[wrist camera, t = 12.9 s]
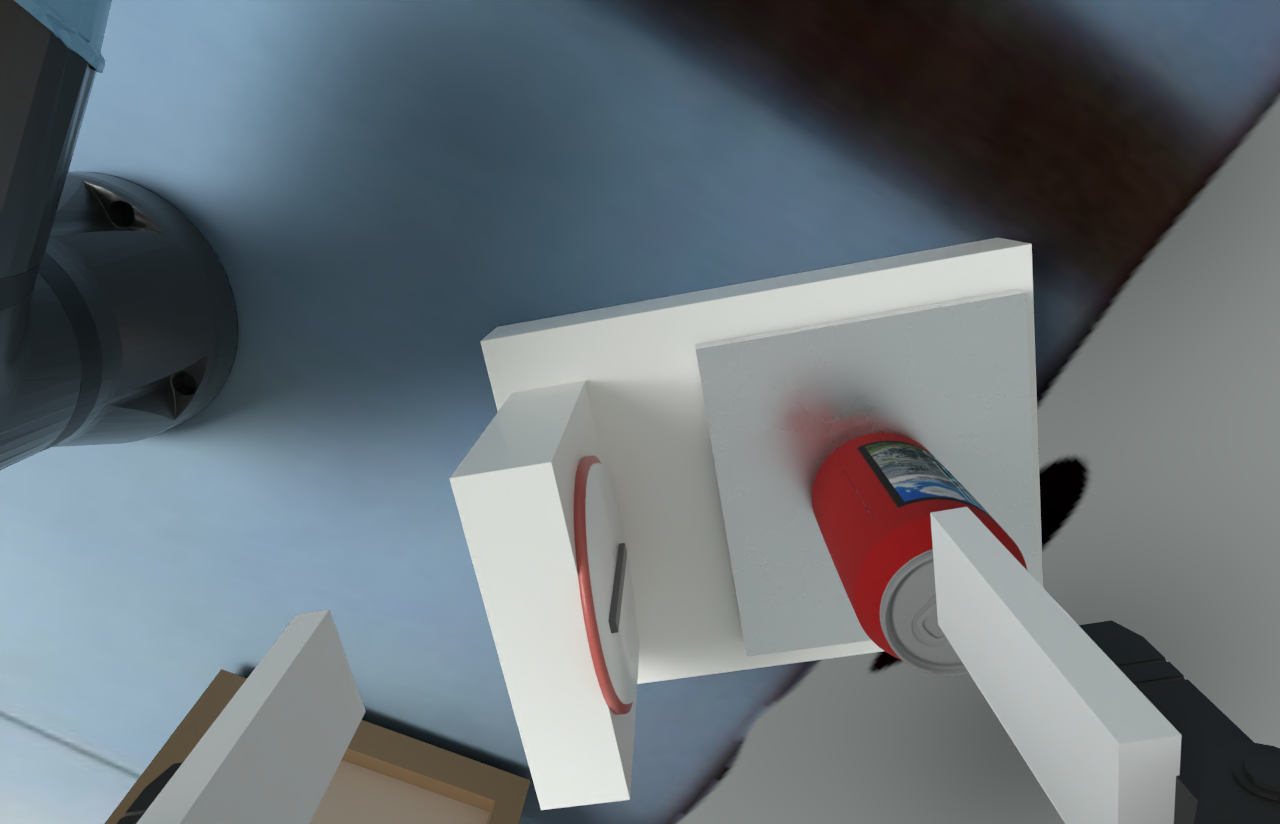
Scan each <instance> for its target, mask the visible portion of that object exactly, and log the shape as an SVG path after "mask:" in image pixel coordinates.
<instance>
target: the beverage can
mask: <svg viewBox="0 0 1280 824" xmlns="http://www.w3.org/2000/svg"><path fill="white" fill-rule="evenodd" d="M812 507H813V512H814V515H815V518H816V520H817V523H818V526H819V528H820V531H821V533H822V536H823V538H824V541H825V543H826V546H827V548H828V551H829V553H830V555H831V558H832V560H833V563H834V565H835V568H836V570H837V572H838V575H839V577H840V579H841V582H842V584H843V586H844V589H845V591H846V593H847V596H848V598H849V600H850V602H851V605H852V607H853V609H854V612H855V614H856V616H857V618H858V621H859V623H860V625H861V627H862V628H863V630H864V631H865V633H866V634H867V635H868V637H869V638H870V639H871V640H872V641H873V642H874V643H875V644H876V645H877V646H878V647H880V648H881V649H882V650H884V651H885V652H887V653H888V654H890V655H892V656H894V657H896V658H898V659H900V660H903V661H904V662H905V663H907V664H908V665H910V666H912V667H914V668H916V669H918V670H920V671H923V672H926V673H929V674H934V675H940V676H957V675H964V674H969V672H968V670H967V669H966V667H965V666H964V664H963V663H962V661H961V659H960V658H959V656H958V655H957V653H956V652H955V650H954V649H953V647H952V645H951V644H950V642H949V641H948V639H947V638H946V636H945V634H944V633H943V631H942V630H941V628H940V627H939V625H938V617H937V603H936V588H935V574H934V559H933V545H932V531H931V516H930V513H931V512H937V511H943V510H950V509H956V508H962V507H968V508H969V509H970V510H971V511H972V512H973V513H974V515H975V516H976V517H977V518H978V519H979V520H980V521H981V522H982V523H983V524H984V525H985V526H986V527H987V528H988V529H989V530H990V532H991V533H992V534H993V535H994V536H995V537H996V538H997V539H998V540H999V541H1000V542H1001V543H1002V544H1003V545H1004V546H1005V548H1006V549H1007V550H1008V551H1009V552H1010V553H1011V554H1012V555H1013V556H1014V557H1015V558H1016V559H1017V560H1018V561H1019V562H1020V564H1021V565H1022V566H1023V567H1024V568H1025V569H1026V570H1027V566H1026V563H1025V560H1024V557H1023V555H1022V553H1021V551H1020V549H1019V548H1018V546H1017V545H1016V543H1015V542H1014V541H1013V540H1012V539H1011V537H1010V536H1009V535H1008V534H1007V533H1006V532H1005V531H1004V530H1003V529H1002V527H1001V526H1000V525H999V524H998V523H997V522H996V521H995V520H994V519H993V518H992V516H991V515H990V514H989V513H988V512H987V511H986V510H985V509H984V508H983V507H982V506H981V504H980V503H979V502H978V501H977V500H976V499H975V498H974V497H973V496H972V495H971V494H970V493H969V492H968V491H967V490H966V489H965V488H964V487H963V486H962V484H961V483H960V482H959V481H958V480H957V479H956V478H955V477H954V476H953V475H952V474H951V473H950V472H949V471H948V470H947V469H946V468H945V467H944V466H943V465H942V464H941V463H940V462H939V461H938V460H937V459H936V458H935V457H934V456H933V455H932V454H931V453H930V452H929V451H928V450H927V449H926V448H925V447H924V446H922V445H921V444H919V443H918V442H916V441H914V440H912V439H910V438H908V437H905V436H902V435H897V434H891V433H874V434H868V435H863V436H860V437H857V438H855V439H852V440H850V441H848V442H846V443H845V444H843V445H841V446H840V447H838V448H837V449H836V450H835V451H834V452H832V453H831V454H830V455H829V456H828V458H827V459H826V460H825V461H824V463H823V464H822V466H821V467H820V469H819V471H818V473H817V475H816V477H815V480H814V484H813V489H812Z"/></svg>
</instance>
